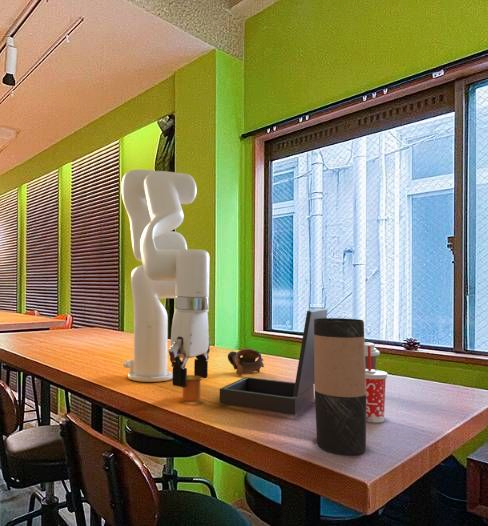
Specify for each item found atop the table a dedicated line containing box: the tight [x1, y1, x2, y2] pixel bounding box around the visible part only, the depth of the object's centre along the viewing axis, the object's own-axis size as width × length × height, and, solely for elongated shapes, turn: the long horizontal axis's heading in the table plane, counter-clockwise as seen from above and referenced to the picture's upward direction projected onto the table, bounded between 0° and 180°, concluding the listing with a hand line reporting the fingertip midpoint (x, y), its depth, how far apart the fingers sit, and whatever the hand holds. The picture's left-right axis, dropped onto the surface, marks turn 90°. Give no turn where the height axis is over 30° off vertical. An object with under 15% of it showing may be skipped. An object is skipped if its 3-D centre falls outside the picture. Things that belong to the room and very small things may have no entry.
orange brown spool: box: [181, 374, 203, 402], centre depth 96 cm, size 5×5×6 cm
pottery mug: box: [227, 348, 265, 378], centre depth 128 cm, size 12×10×8 cm
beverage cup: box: [366, 345, 388, 424], centre depth 85 cm, size 6×6×14 cm
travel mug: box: [314, 317, 367, 456], centre depth 70 cm, size 8×8×20 cm
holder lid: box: [293, 307, 329, 397], centre depth 90 cm, size 17×15×1 cm
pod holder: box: [219, 376, 315, 416], centre depth 94 cm, size 16×15×4 cm
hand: (190, 381), depth 98 cm, fingers open, 9 cm apart
